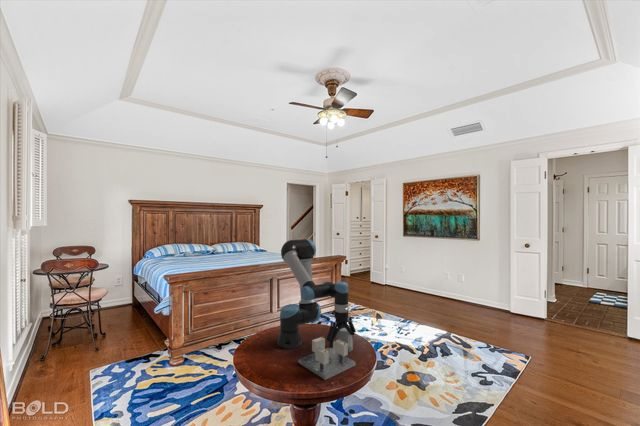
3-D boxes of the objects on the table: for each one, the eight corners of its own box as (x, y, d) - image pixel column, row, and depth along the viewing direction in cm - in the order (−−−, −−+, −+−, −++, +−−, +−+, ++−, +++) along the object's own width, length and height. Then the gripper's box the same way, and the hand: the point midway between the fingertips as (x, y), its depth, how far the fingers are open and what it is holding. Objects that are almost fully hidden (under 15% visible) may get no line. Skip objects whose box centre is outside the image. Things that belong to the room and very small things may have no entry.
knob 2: (334, 357, 169) (334, 339, 169) (338, 355, 171) (338, 338, 171) (343, 362, 164) (343, 343, 163) (347, 360, 166) (347, 342, 165)
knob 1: (315, 365, 160) (315, 346, 160) (319, 363, 162) (319, 345, 162) (324, 370, 154) (324, 351, 154) (328, 368, 156) (328, 349, 156)
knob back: (315, 358, 168) (315, 340, 168) (312, 356, 170) (312, 338, 170) (324, 354, 172) (325, 337, 172) (321, 352, 174) (321, 335, 174)
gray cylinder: (352, 352, 179) (352, 332, 179) (335, 351, 181) (336, 330, 181) (353, 345, 188) (353, 325, 188) (338, 344, 190) (338, 324, 190)
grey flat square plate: (298, 362, 167) (298, 357, 167) (328, 350, 181) (328, 345, 181) (325, 379, 150) (325, 373, 150) (355, 365, 164) (355, 359, 164)
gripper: (329, 317, 156) (329, 359, 156) (361, 307, 172) (362, 345, 172) (319, 314, 162) (319, 354, 162) (352, 304, 178) (352, 341, 178)
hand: (341, 349), depth 167 cm, fingers open, 13 cm apart
